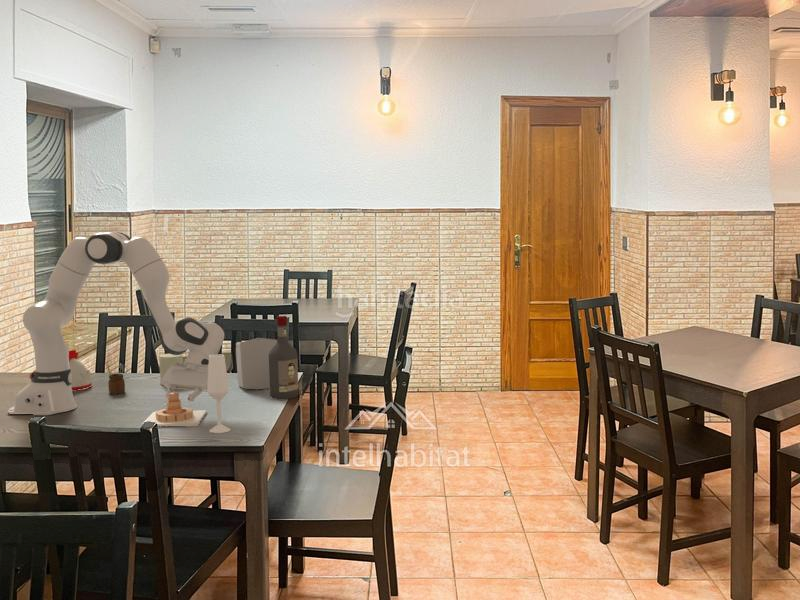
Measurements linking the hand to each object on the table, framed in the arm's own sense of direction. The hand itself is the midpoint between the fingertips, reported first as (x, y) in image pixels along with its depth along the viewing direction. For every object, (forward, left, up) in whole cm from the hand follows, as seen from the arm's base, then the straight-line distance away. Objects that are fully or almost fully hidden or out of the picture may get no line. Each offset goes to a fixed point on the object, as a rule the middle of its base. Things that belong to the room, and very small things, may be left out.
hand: (179, 399), depth 299 cm
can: (-14, +59, -7) cm, 61 cm away
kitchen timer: (-52, +56, -7) cm, 77 cm away
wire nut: (-1, -2, -6) cm, 6 cm away
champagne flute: (+16, -17, -7) cm, 24 cm away
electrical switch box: (+21, +50, -7) cm, 55 cm away
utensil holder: (-32, +44, -7) cm, 55 cm away
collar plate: (-1, -2, -7) cm, 7 cm away
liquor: (+33, +29, -7) cm, 44 cm away
